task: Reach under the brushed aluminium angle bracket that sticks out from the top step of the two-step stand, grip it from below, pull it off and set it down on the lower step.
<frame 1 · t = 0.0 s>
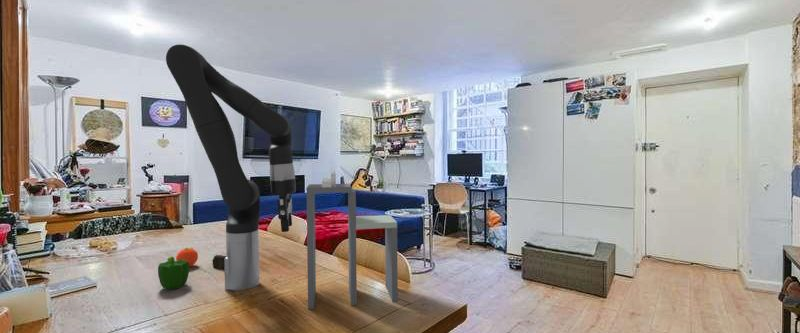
hand: (287, 228, 111), 17 cm above the table, tool pointing down, fingers open, 8 cm apart
bell pepper: (173, 287, 107), on the table
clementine: (188, 267, 128), on the table
hand tool: (232, 270, 125), on the table
step stand: (352, 296, 99), on the table
bracket: (329, 184, 101), point 32 cm above the table, touching step stand
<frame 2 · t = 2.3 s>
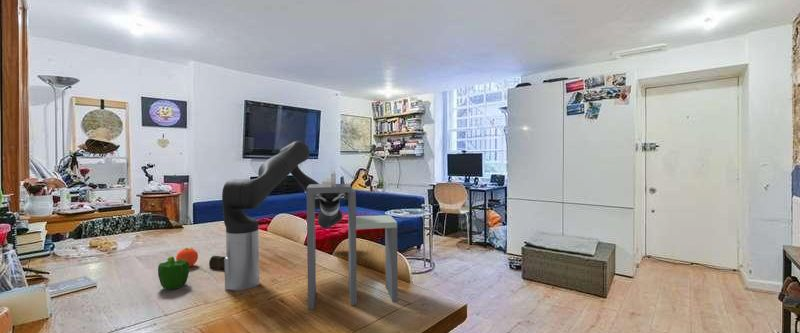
hand: (329, 185, 123), 30 cm above the table, tool pointing upward, fingers open, 8 cm apart
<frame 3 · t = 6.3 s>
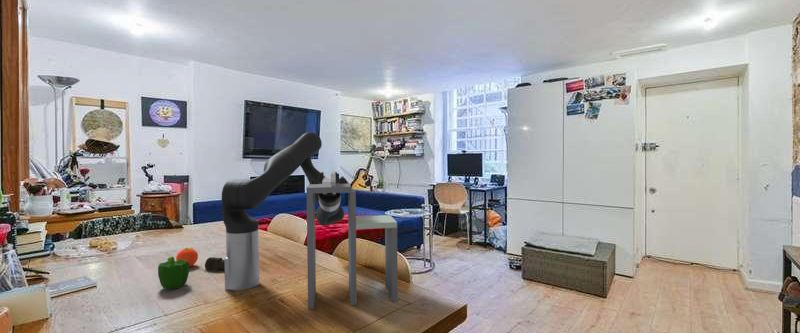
hand: (329, 174, 106), 35 cm above the table, tool pointing upward, fingers closed on bracket, 3 cm apart
bracket: (329, 184, 101), point 32 cm above the table, touching gripper, step stand
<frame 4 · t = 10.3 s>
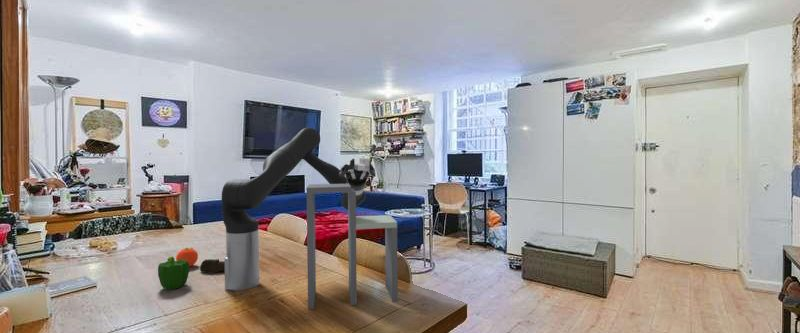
hand: (359, 161, 120), 39 cm above the table, tool pointing upward, fingers closed on bracket, 3 cm apart
hand tool: (227, 273, 122), on the table
bracket: (360, 169, 115), point 36 cm above the table, touching gripper
everything else where it was.
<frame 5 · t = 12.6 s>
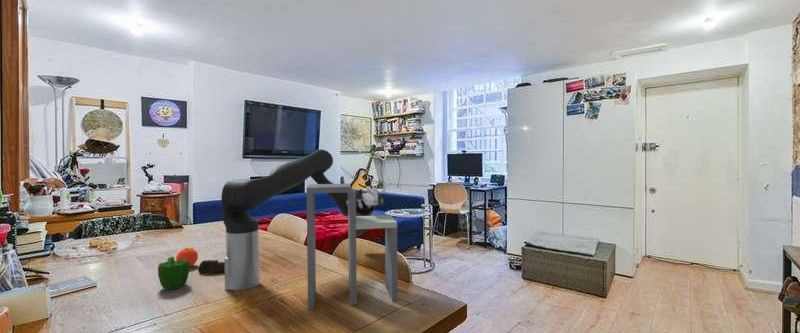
hand: (367, 191, 117), 28 cm above the table, tool pointing upward, fingers closed on bracket, 3 cm apart
bracket: (368, 201, 113), point 26 cm above the table, touching gripper
when the fingers open (26 cm above the table, at t = 14.5 s): bracket drops 1 cm, resting on step stand.
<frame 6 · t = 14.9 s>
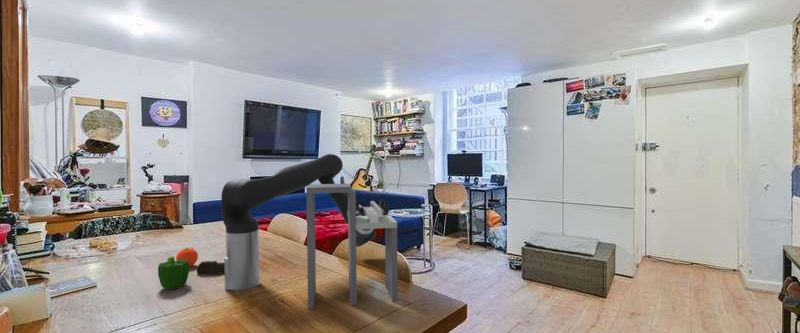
hand: (370, 202, 109), 26 cm above the table, tool pointing upward, fingers open, 7 cm apart
bracket: (371, 216, 104), point 22 cm above the table, touching step stand
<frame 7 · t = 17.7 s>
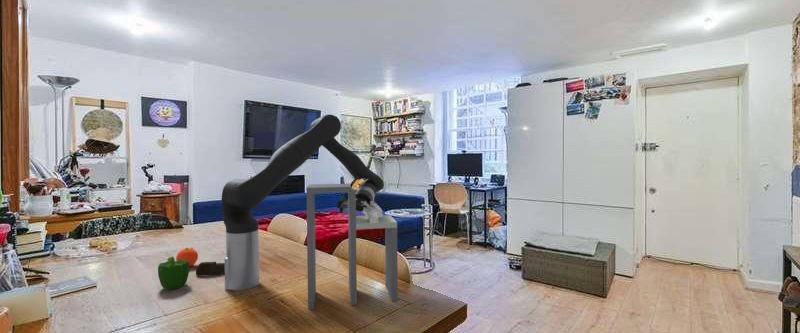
hand: (353, 214, 117), 21 cm above the table, tool horizontal, fingers open, 8 cm apart
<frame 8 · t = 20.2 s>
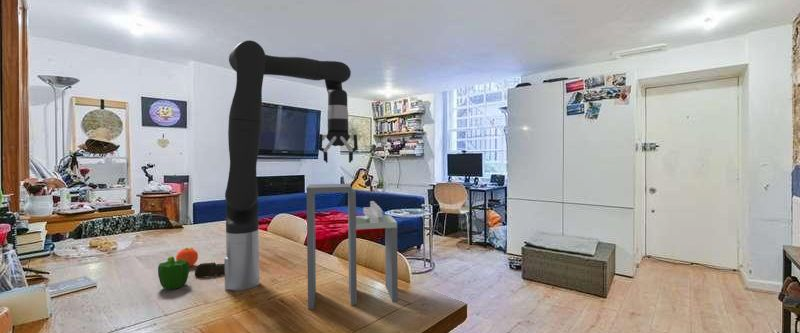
hand: (338, 162, 128), 38 cm above the table, tool pointing down, fingers open, 8 cm apart
at the end: bracket inside the target area (0.1 cm from its centre), point 22.0 cm above the table; bracket tilted 0°; the gripper is holding nothing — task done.
